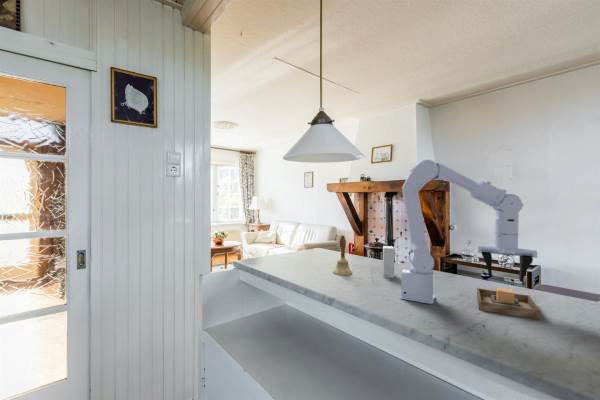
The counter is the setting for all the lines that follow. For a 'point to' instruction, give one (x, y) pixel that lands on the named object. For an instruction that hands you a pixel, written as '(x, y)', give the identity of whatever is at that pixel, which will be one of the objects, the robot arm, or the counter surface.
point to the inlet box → (508, 304)
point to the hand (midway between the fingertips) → (505, 278)
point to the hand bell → (342, 260)
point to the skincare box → (388, 261)
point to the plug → (505, 295)
